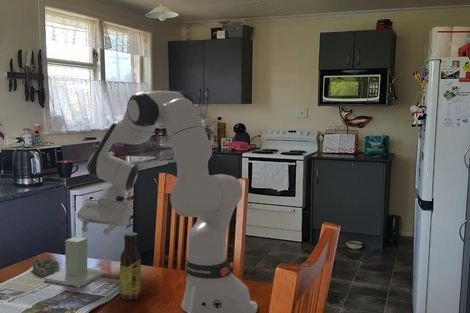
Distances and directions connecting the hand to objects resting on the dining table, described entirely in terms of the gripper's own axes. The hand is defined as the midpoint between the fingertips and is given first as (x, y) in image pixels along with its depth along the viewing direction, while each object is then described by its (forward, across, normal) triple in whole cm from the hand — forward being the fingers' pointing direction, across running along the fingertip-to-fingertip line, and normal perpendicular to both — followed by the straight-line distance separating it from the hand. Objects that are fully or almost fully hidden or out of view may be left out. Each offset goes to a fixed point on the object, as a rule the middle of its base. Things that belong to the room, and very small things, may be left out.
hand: (94, 232), depth 166 cm
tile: (+17, 0, +2) cm, 17 cm away
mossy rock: (+16, -14, +3) cm, 21 cm away
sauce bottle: (+22, +26, -3) cm, 34 cm away
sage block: (+16, 0, +1) cm, 16 cm away
